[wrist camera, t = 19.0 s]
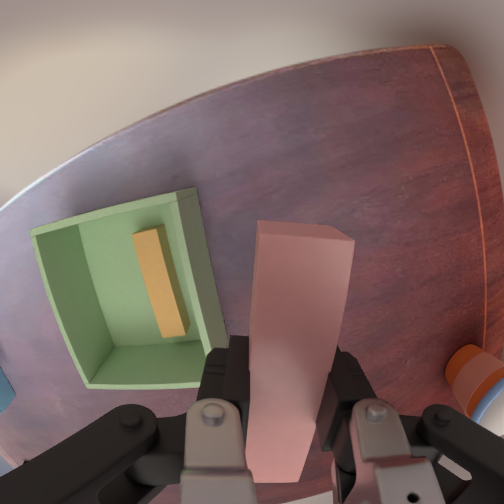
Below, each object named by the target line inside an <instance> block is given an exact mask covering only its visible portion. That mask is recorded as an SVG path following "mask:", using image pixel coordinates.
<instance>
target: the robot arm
mask: <svg viewBox="0 0 504 504" xmlns="http://www.w3.org/2000/svg"><path fill="white" fill-rule="evenodd" d="M249 408H250V371H249V336H236V335H230V341H229V348H217V347H214V348H213V349H212V350H211V351H210V352H209V353H208V354H207V356H206V361H205V366H204V369H203V374H202V378H201V382H200V387H199V391H198V396H197V400H196V402H195V403H193V404H192V405H191V406H190V407H189V408H188V410H187V412H186V413H184V414H182V415H178V416H174V417H164V418H156V416H155V414H154V413H153V412H152V411H151V410H150V409H148V408H146V407H144V406H141V405H136V404H127V405H121V406H118V407H116V408H114V409H113V410H111V411H110V412H108V413H106V414H105V415H103V416H102V417H100V418H99V419H97V420H96V421H94V422H92V423H91V424H89V425H88V426H86V427H85V428H83V429H81V430H80V431H78V432H77V433H75V434H73V435H72V436H70V437H69V438H67V439H65V440H64V441H62V442H60V443H59V444H57V445H55V446H54V447H52V448H50V449H49V450H47V451H45V452H44V453H42V454H40V455H39V456H37V457H35V458H33V459H32V460H30V461H28V462H26V463H25V464H23V465H21V466H19V467H18V468H16V469H14V470H12V471H10V472H9V473H7V474H5V475H3V476H1V477H0V504H148V503H149V502H150V501H151V500H152V499H153V498H154V497H155V496H157V495H158V494H159V493H160V492H161V491H162V490H163V489H164V488H165V487H166V486H167V485H169V484H179V483H180V502H179V504H258V502H257V497H256V491H255V485H254V480H253V475H252V471H251V469H248V467H247V461H246V455H245V450H246V440H247V429H248V419H249ZM315 424H316V428H317V433H318V437H319V441H320V445H321V450H322V452H324V451H333V454H334V459H333V461H332V463H331V476H332V489H333V504H504V439H503V438H501V437H499V436H498V435H496V434H494V433H493V432H491V431H489V430H488V429H486V428H484V427H482V426H481V425H479V424H478V423H476V422H474V421H473V420H471V419H469V418H468V417H466V416H464V415H463V414H461V413H459V412H458V411H456V410H455V409H453V408H451V407H449V406H446V405H441V404H435V405H431V406H429V407H427V408H426V409H425V410H424V412H423V414H422V416H421V417H417V416H405V415H398V412H397V410H396V409H395V407H394V406H393V405H392V404H390V403H389V402H387V401H384V400H382V399H377V397H376V395H375V393H374V391H373V389H372V387H371V385H370V383H369V381H368V379H367V378H366V376H365V374H364V372H363V370H362V369H361V366H360V365H359V363H358V361H357V359H356V358H355V357H353V356H352V355H351V354H350V353H348V352H341V351H340V349H339V347H338V345H337V347H336V352H335V356H334V361H333V365H332V369H331V372H329V373H328V377H327V381H326V385H325V389H324V393H323V397H322V401H321V405H320V408H319V412H318V415H317V419H316V422H315ZM443 454H444V455H445V456H446V457H448V458H449V459H451V460H452V461H454V462H455V463H457V464H458V465H460V466H461V467H463V468H464V469H466V470H467V471H469V472H470V473H471V476H472V479H471V480H467V481H465V480H462V479H461V478H459V477H458V476H456V475H455V474H453V473H452V472H450V471H449V470H447V469H446V468H445V467H443V466H442V465H440V464H439V463H438V461H439V460H440V458H441V457H442V455H443Z"/></svg>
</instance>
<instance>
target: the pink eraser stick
mask: <svg viewBox="0 0 504 504" xmlns="http://www.w3.org/2000/svg"><path fill="white" fill-rule="evenodd" d="M354 247H355V241H354V240H353V239H351V238H349V237H348V236H346V235H345V234H343V233H342V232H340V231H338V230H337V229H335V228H334V227H332V226H328V225H316V224H304V223H291V222H278V221H264V220H258V221H257V231H256V245H255V259H254V272H253V286H252V300H251V314H250V327H249V371H250V408H249V419H248V429H247V440H246V450H245V455H246V461H247V467H248V469H251V471H252V475H253V480H254V482H258V483H281V482H298V480H299V478H300V475H301V472H302V469H303V466H304V463H305V460H306V457H307V454H308V451H309V448H310V445H311V442H312V438H313V435H314V432H315V429H316V424H315V422H316V419H317V415H318V412H319V408H320V405H321V401H322V397H323V393H324V389H325V385H326V381H327V377H328V373H329V372H331V369H332V365H333V361H334V356H335V352H336V347H337V343H338V338H339V334H340V329H341V324H342V319H343V314H344V308H345V303H346V297H347V292H348V286H349V280H350V274H351V267H352V261H353V254H354Z"/></svg>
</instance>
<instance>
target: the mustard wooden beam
mask: <svg viewBox="0 0 504 504" xmlns="http://www.w3.org/2000/svg"><path fill="white" fill-rule="evenodd" d="M131 235H132V239H133V243H134V247H135V250H136V254H137V258H138V262H139V265H140V269H141V272H142V276H143V279H144V282H145V286H146V289H147V292H148V296H149V299H150V302H151V305H152V308H153V311H154V314H155V317H156V320H157V323H158V326H159V329H160V332H161V335H162V338H167V337H176V336H184V335H186V334H187V331H188V329H189V326H190V324H191V323H190V320H189V316H188V313H187V309H186V306H185V303H184V299H183V296H182V292H181V288H180V285H179V281H178V277H177V274H176V270H175V266H174V262H173V258H172V254H171V250H170V246H169V242H168V238H167V234H166V230H165V226H164V224H161V225H156V226H152V227H148V228H143V229H140V230H138V231H136V232H134V233H133V234H131Z"/></svg>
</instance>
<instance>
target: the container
mask: <svg viewBox="0 0 504 504" xmlns="http://www.w3.org/2000/svg"><path fill="white" fill-rule="evenodd" d="M15 395H16V394H15V392H14V390H13V389H12V387H11V385H10V384H9V382H8V380H7V378H6V377H5V375H4V373H3V371H2V369H1V368H0V414H1V413H2V412H3V411H4V410H5V409H6V407H7V406H8V405H9V404H10V403H11V401H12V400H13V398H14V397H15Z"/></svg>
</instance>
